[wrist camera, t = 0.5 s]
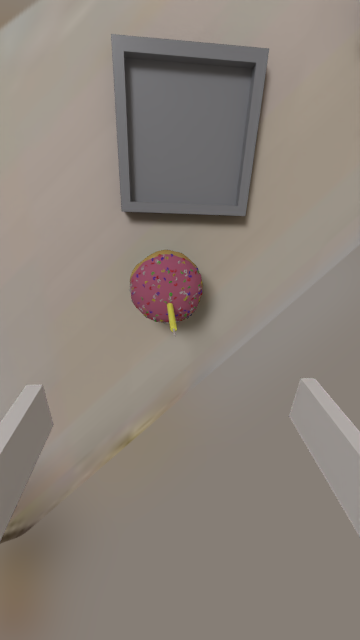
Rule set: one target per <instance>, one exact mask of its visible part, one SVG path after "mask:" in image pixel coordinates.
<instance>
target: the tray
mask: <svg viewBox="0 0 360 640" xmlns="http://www.w3.org/2000/svg"><path fill="white" fill-rule="evenodd" d="M111 41H112V58H113V74H114V91H115V108H116V125H117V142H118V159H119V176H120V193H121V209H122V211H125V212H152V213H179V214H206V215H233V216H245V215H246V208H247V201H248V194H249V187H250V180H251V173H252V166H253V159H254V152H255V145H256V138H257V131H258V124H259V117H260V110H261V102H262V95H263V88H264V81H265V74H266V67H267V60H268V53H269V49H268V48H257V47H246V46H235V45H224V44H214V43H203V42H192V41H181V40H170V39H159V38H148V37H137V36H127V35H116V34H111Z"/></svg>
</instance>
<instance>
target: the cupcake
mask: <svg viewBox="0 0 360 640" xmlns="http://www.w3.org/2000/svg"><path fill="white" fill-rule="evenodd" d="M202 287H203V285H202V280H201V275H200V273H199V271H198V268H197V266H196V265H195V264H194V263H193V262H192V261H191V260H190V259H189V258H188V257H186V256H185V255H184V254H182V253H179V252H174V251H170V250H162V251H157V252H155V253H153V254H151V255H149V256H148V257H147V258H145V259H144V260H143V261H142V262H140V263H139V264H137V265H136V267H135V268H134V270H133V272H132V274H131V277H130V290H131V291H130V292H131V298H132V302H133V303H134V305H135V306H136V308H138V309H139V310H140V311H141V313H142V314H144V316H145V317H146V318H149V319H151V320H154V321H156V322H163V323H170V330H171V331H172V332H173V334H174V336H176V333H175V331H176V330H177V325H176V322H177V321H178V322H180V321H182V320H184V319H185V318H187V319H188V318H189V315H190V316H191V315H192V313H193V312H195V310H196V308H197V305H198V303H199V302H200V298H201V295H202Z"/></svg>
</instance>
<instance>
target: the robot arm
mask: <svg viewBox="0 0 360 640" xmlns="http://www.w3.org/2000/svg"><path fill="white" fill-rule="evenodd" d="M289 417H290V419H291V421H292V422H293V424H294V426H295V427H296V429H297V431H298V432H299V434H300V436H301V438H302V439H303V441H304V442H305V444H306V446H307V448H308V450H309V451H310V453H311V455H312V456H313V458H314V460H315V462H316V463H317V465H318V467H319V468H320V470H321V472H322V474H323V475H324V477H325V479H326V480H327V482H328V484H329V486H330V487H331V489H332V491H333V492H334V494H335V496H336V497H337V499H338V501H339V503H340V504H341V506H342V508H343V509H344V511H345V513H346V514H347V516H348V518H349V520H350V521H351V523H352V525H353V526H354V528H355V530H356V532H357V534H358V535H359V537H360V432H359V430H358V429H357V428H356V427H355V426H354V424H353V423H352V422H351V421H350V420H349V419H348V418H347V416H346V415H345V414H344V413H343V412H342V410H341V409H340V408H339V407H338V405H337V404H336V403H335V402H334V401H333V400H332V399H331V397H330V396H329V395H328V394H327V392H326V391H325V390H324V389H323V388H322V387H321V385H320V384H319V383H318V382H317V381H316V379H315V378H301V379H300V382H299V386H298V389H297V392H296V395H295V399H294V402H293V405H292V408H291V411H290V415H289ZM52 427H53V421H52V417H51V413H50V410H49V406H48V402H47V398H46V395H45V391H44V387H43V385H26V386H25V388H24V389H23V391H22V392H21V393H20V395H19V396H18V398H17V399H16V401H15V402H14V403H13V405H12V406H11V408H10V409H9V411H8V412H7V413H6V415H5V416H4V418H3V419H2V421H1V422H0V541H1V538H2V536H3V534H4V532H5V530H6V527H7V525H8V523H9V521H10V519H11V517H12V514H13V512H14V510H15V508H16V506H17V503H18V501H19V499H20V497H21V495H22V493H23V490H24V488H25V486H26V484H27V482H28V479H29V477H30V475H31V473H32V471H33V469H34V466H35V464H36V462H37V460H38V458H39V455H40V453H41V451H42V449H43V447H44V445H45V442H46V440H47V438H48V436H49V434H50V431H51V429H52Z"/></svg>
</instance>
